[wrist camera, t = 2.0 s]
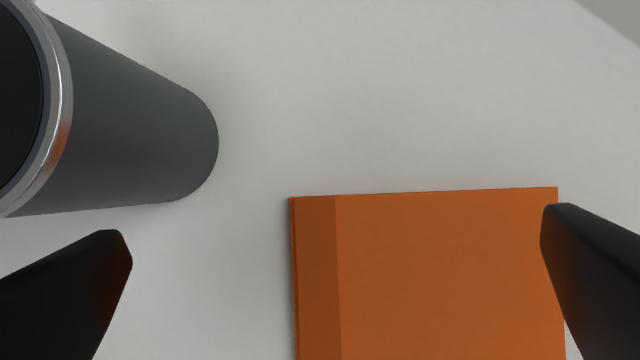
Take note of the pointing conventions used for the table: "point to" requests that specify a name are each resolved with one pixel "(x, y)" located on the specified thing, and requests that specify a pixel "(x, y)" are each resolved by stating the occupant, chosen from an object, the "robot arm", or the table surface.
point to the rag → (424, 276)
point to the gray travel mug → (90, 123)
